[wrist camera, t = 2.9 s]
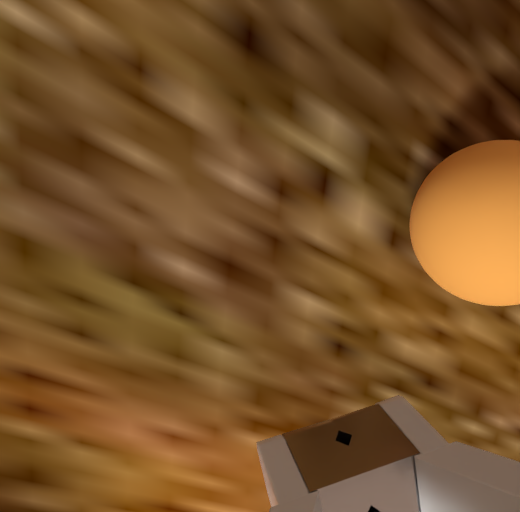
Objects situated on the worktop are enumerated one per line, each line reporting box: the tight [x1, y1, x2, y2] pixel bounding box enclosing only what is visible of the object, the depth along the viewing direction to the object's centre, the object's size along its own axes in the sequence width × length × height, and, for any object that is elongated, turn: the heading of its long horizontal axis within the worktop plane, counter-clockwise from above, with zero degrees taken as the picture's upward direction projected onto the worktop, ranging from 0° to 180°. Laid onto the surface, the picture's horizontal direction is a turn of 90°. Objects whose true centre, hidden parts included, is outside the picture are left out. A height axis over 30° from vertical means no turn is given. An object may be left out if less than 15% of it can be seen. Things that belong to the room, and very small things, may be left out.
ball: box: [410, 140, 520, 306], centre depth 18 cm, size 6×6×6 cm
